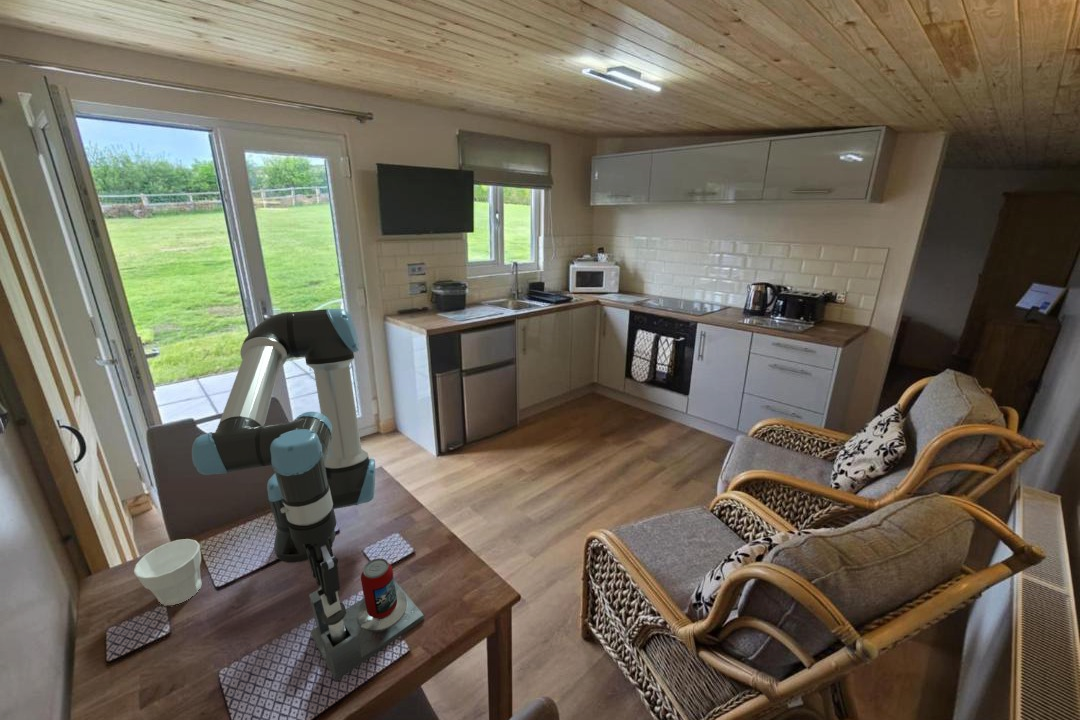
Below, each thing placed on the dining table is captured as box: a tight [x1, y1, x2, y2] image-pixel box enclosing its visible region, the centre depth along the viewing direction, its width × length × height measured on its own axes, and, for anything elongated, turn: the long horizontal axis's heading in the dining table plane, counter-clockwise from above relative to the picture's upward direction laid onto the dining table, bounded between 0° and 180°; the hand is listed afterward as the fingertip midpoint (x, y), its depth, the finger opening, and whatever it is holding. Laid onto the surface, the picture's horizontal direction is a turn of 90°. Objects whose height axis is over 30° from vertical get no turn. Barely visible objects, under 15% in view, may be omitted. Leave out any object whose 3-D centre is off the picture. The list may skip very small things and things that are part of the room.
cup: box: [133, 538, 203, 605], centre depth 109 cm, size 12×12×11 cm
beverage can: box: [360, 557, 397, 618], centre depth 102 cm, size 7×7×12 cm
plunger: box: [321, 602, 347, 647], centre depth 91 cm, size 4×4×9 cm
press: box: [308, 579, 425, 683], centre depth 99 cm, size 14×20×10 cm
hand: (333, 611), depth 89 cm, fingers closed
